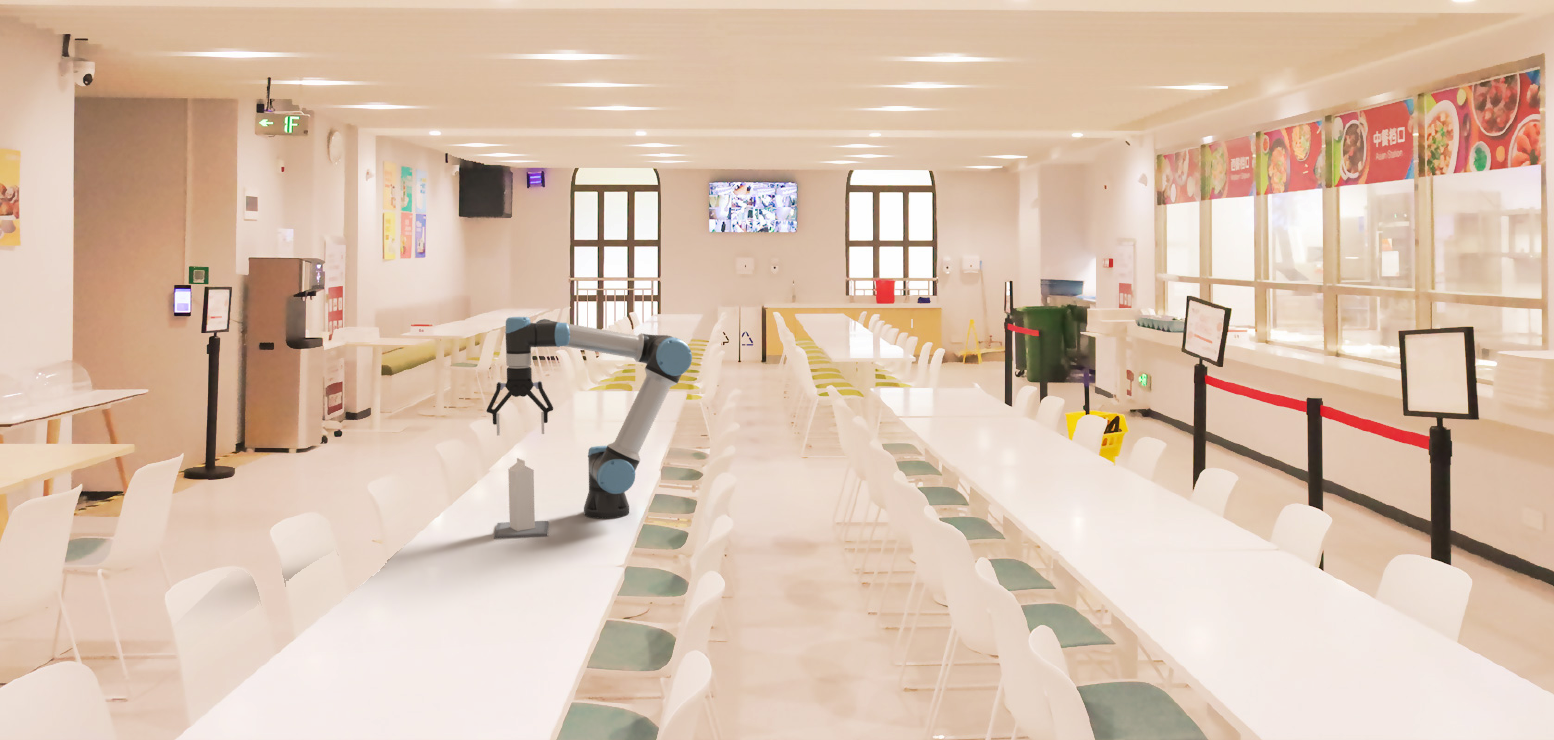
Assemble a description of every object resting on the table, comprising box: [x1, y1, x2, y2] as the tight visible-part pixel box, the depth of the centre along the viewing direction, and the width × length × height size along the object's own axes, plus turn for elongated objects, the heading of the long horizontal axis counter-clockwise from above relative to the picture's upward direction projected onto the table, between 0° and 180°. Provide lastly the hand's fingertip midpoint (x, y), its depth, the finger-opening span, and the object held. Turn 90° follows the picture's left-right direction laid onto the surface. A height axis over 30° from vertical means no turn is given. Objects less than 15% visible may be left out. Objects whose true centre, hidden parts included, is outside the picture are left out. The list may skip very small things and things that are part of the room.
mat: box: [493, 520, 549, 539], centre depth 342 cm, size 16×16×1 cm
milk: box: [507, 457, 536, 531], centre depth 341 cm, size 6×6×22 cm
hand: (520, 434), depth 339 cm, fingers open, 13 cm apart
